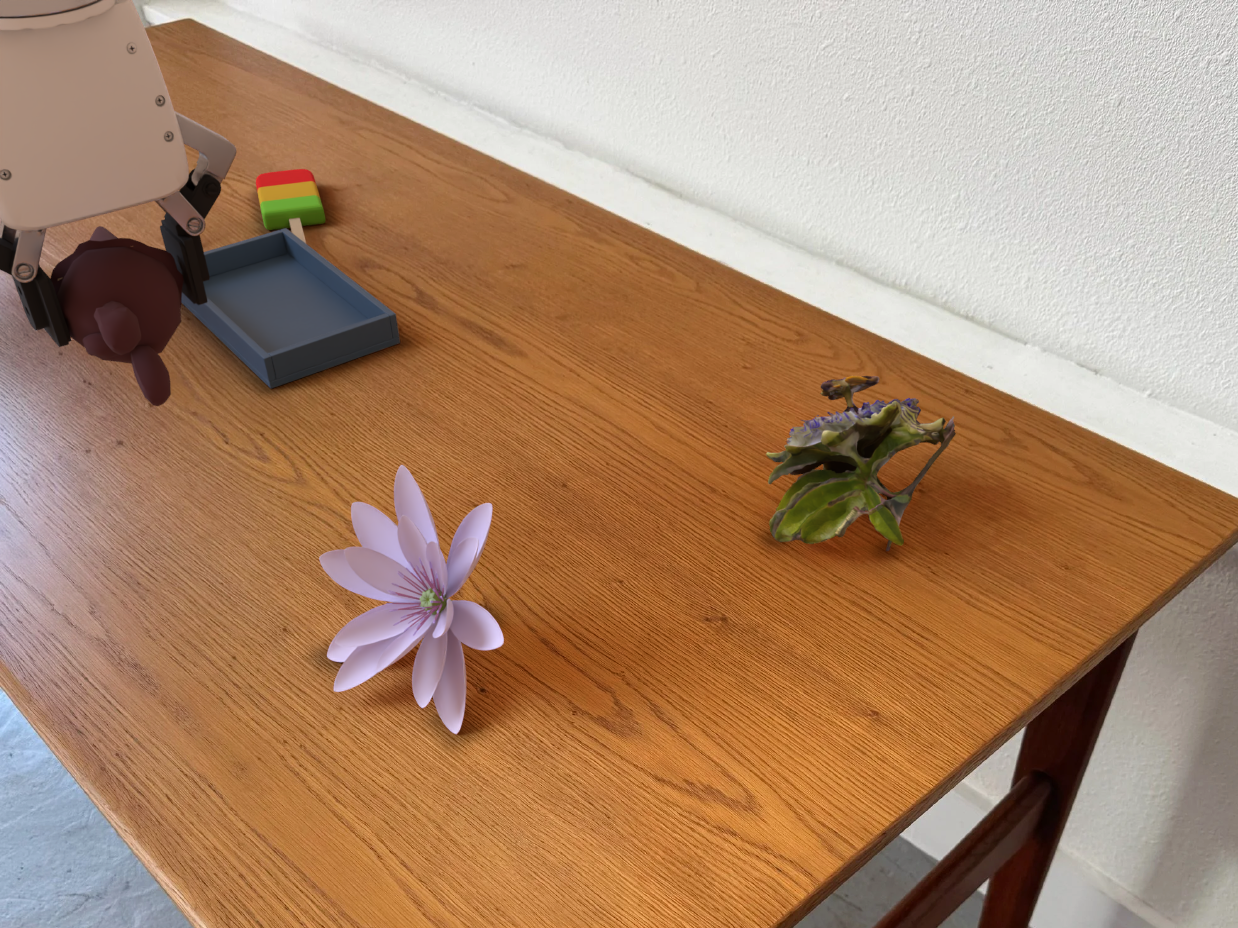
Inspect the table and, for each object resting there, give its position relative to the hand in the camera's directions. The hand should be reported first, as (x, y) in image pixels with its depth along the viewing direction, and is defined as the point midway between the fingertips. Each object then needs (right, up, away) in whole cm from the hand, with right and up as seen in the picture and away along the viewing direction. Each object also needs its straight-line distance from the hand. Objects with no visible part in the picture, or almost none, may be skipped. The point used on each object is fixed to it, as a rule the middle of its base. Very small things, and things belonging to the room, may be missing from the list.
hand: (125, 312), depth 70 cm
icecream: (0, -2, +2) cm, 3 cm away
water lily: (+16, -20, +2) cm, 26 cm away
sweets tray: (0, +8, +31) cm, 32 cm away
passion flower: (+43, -11, +12) cm, 46 cm away
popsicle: (-3, +20, +45) cm, 49 cm away
